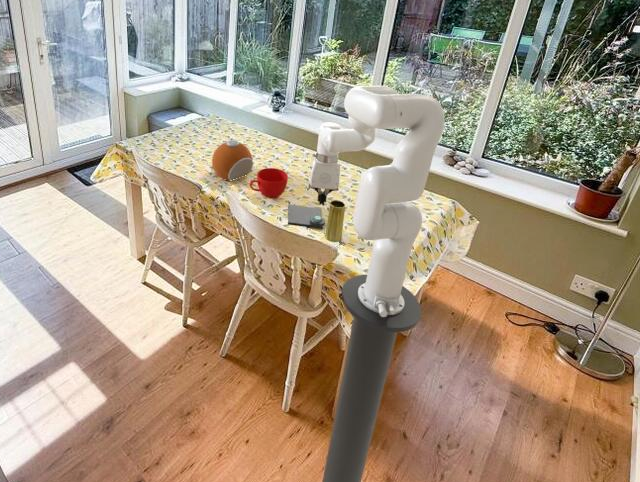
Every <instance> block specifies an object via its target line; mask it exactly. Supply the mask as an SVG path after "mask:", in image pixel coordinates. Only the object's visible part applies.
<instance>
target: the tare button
mask: <svg viewBox="0 0 640 482" xmlns="http://www.w3.org/2000/svg"><path fill="white" fill-rule="evenodd" d="M322 218H323V217H322ZM322 218H321V217H320V216H315V218H314V221H315V222H321V219H322Z"/></svg>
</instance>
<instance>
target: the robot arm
mask: <svg viewBox="0 0 640 482" xmlns="http://www.w3.org/2000/svg"><path fill="white" fill-rule="evenodd" d="M343 106H344V110H345V112H346V114H347V115H348V123H349V125H350V127H351V128H347V129H346V128H345V129H344V128H342V126H341V125H340V124H338V123H335V122H331V121H330V122H327V121H326V122H323V123H321V124H320V126H319V129H318V138H317V146H316V151H315V152H312V153H311V154H312V155H311V157H313V158H314V159H313V162H312V165H311V169H310V175H309V183H308V188H309V189H312V190H315V192H316V193H317V202H318V203H319V206H320V205H322V206H324V205H325V203H327V197H328V195H329V194H330V193H332V192H337V191H339V188H340V187H339V186H340V178H341V162H340V161H339V154H340V153H346V152H347V153H348V152H349V153H350V152H359V151H360V152H361V151H363V150H365V149H366V148H368V147H369V146H370V145H372V144H373V142H375V140H376V138H377V132H378V130H394V129H395V130H396V129H409V131H407V133H405V135H404V136H403V137H402V138H401V139H400V141H399V142H398V143H397V146H396V148H395V152H394V156H393V160H392V162H391V163H390V164H388V165H377V166H372V167H369V168H368V169H366V170H365V171H364V172H363V174H362V175H361V177H360V179H359V184H358V189H357V193H356V200H355V204H354V209H353V215H352V224H353V225H352V226H353V230H354V232H355V233H356V235H357V236H358V237H359V238H360V239H362V240H365V241H373V243H372V247H371V248H372V249H371V253H370V258H369V263H368V268H367V273H366V275H367V278H366V283H364V284H362V285H361V286H360V287H359V289H358V297H359V299H360V301H361V302H362V303H363V305H365V306H366V307H367V308H369V309H370V310H372V311H374V312H376V313H379V314H380V316H381V317H386V316H387V315H395V314H398V313H400V312H401V311H402V310H403V308H404V304H405V302H404V299H403V297H402V295H401V290H402V286H403V287H404V281H405V277H406V274H407V273H406V272H407V270H408V269H407V267H408V264H409V260H410V256H411V252H412V248H413V245H414V243H415V242H416V239H417V237H418V236H419V233H420V232H421V228H422V224H423V214H422V212H421V210H420V209H419V207H418V206H417V205H415V204H414V203H413V202H414V201H417V200H418V199H420V198H421V197H422V195H423V194H424V191H425V188H426V185H427V182H428V177H429V174H430V170H431V166H432V162H433V158H434V154H435V152H436V150H437V147H438V145H439V143H440V141H441V138H442V136H443V132H444V129H445V124H446V123H445V122H446V121H445V119H446V118H445V113H444V109H443V107H442V104H441V103H440V102H439V101H438V100H437V99H436V98H435V97H433V96H431V95H427V94H422V93H401V94H399V93H398V92H397V91H396V89H394V88H393V87H390V86H387V85H358V86H354V87H352V88H350V89H349V90H348V91H347V92H346V95H345V97H344V101H343ZM322 189H324V190H322Z"/></svg>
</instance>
